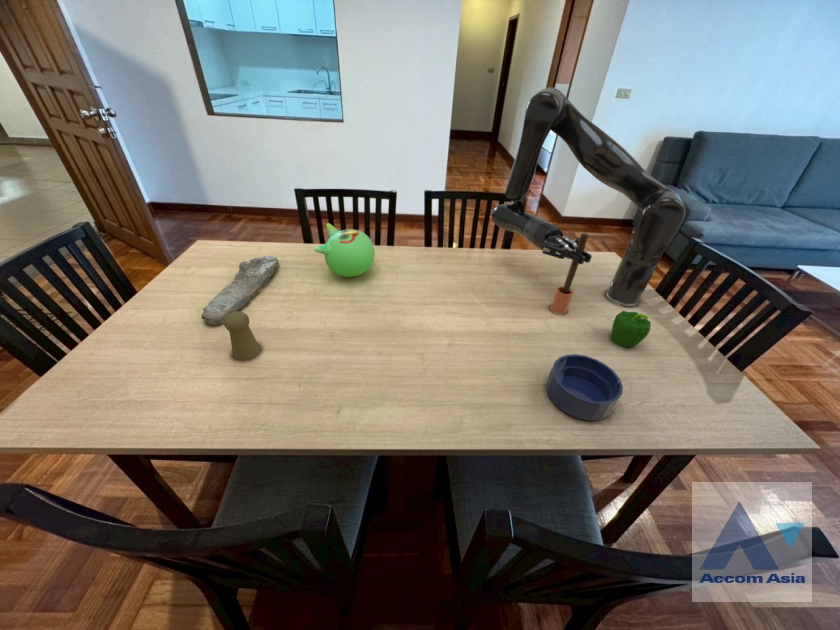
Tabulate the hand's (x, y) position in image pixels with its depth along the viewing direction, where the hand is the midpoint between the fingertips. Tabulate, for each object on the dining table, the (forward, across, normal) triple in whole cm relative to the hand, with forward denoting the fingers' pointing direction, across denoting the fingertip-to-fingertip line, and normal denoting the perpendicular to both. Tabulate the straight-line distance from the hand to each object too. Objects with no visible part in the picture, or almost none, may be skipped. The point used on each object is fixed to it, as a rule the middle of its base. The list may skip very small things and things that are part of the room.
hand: (586, 259), depth 93 cm
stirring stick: (-3, 0, +12) cm, 12 cm away
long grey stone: (-47, -83, +18) cm, 97 cm away
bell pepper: (+15, +6, +19) cm, 25 cm away
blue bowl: (+24, -20, +18) cm, 36 cm away
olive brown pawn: (-19, -85, +18) cm, 89 cm away
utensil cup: (-3, 0, +18) cm, 19 cm away
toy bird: (-47, -51, +18) cm, 72 cm away
